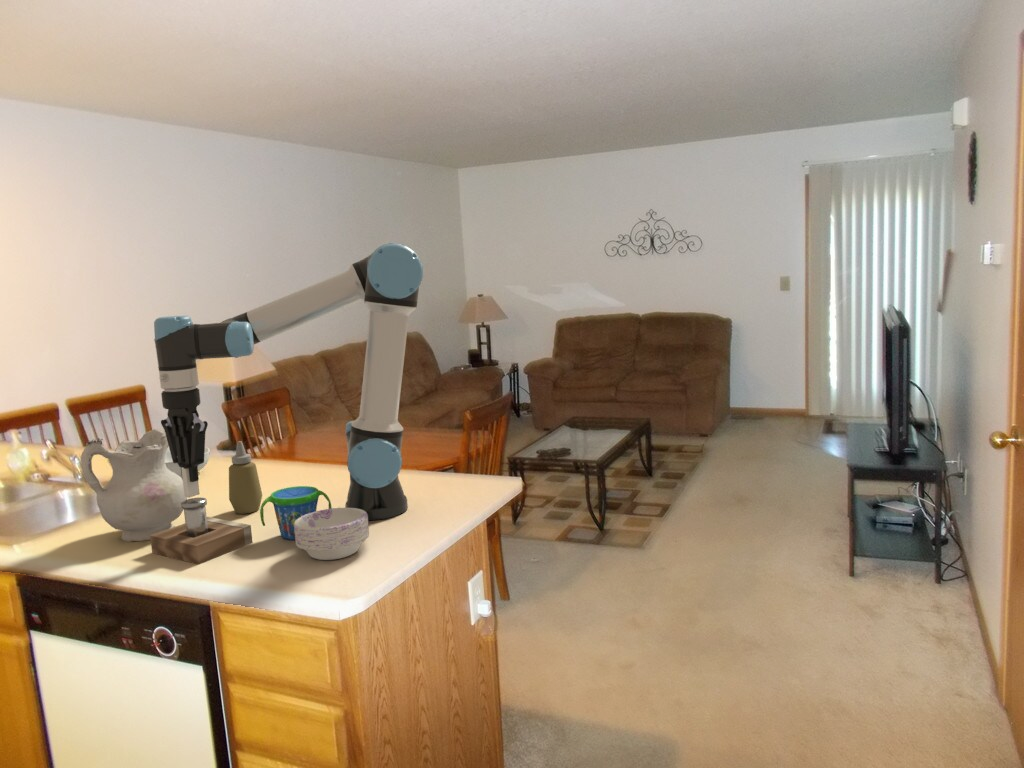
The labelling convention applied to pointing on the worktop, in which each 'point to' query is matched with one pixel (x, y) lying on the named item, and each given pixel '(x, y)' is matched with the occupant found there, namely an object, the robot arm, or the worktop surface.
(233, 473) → the squeeze bottle
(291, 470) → the worktop surface
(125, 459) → the ceramic pitcher
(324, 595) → the worktop surface
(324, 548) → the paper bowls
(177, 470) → the serving bowl
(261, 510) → the snack cup
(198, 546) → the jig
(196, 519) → the metal capped cylinder
